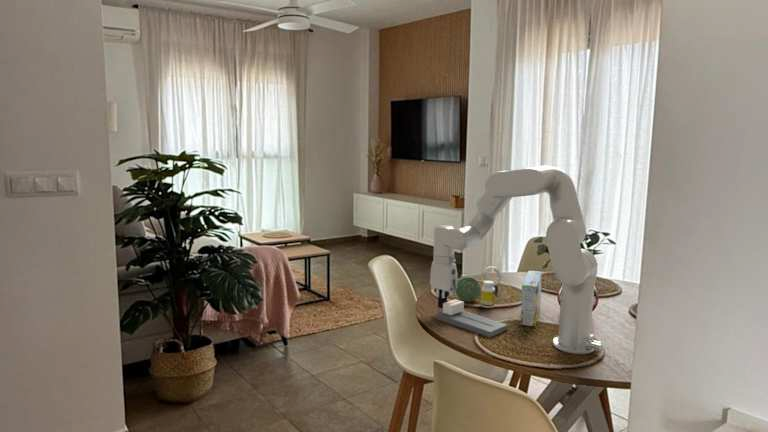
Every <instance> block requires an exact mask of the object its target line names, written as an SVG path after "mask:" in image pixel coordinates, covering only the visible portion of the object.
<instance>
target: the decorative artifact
mask: <svg viewBox="0 0 768 432" xmlns="http://www.w3.org/2000/svg"><path fill="white" fill-rule="evenodd" d="M481 288H482V287H481V284H480V282H479V280H478V279H476V278H475V277H474V276H471V275H463V276H461V277H460V278H458V286H457V289H455V295H456V296H457V298H459V299H460V301H463V302H472V301H475V300H476V299H477V298H479V296H480V295H481Z"/></svg>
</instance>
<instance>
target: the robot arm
mask: <svg viewBox="0 0 768 432" xmlns="http://www.w3.org/2000/svg"><path fill="white" fill-rule="evenodd" d="M484 187H485V191H484V192H483V193H482V194H481V195H480V196H479V198H478V199H477V201H476V208H477V212H476V214H475V215H474V217H472V219H471V221H469V222H468V224H467V225H465V226H462V227H459V228H455V227H454V226H451V225H447V224H445V225H444V224H441V225H436V226H435V227H434V229H433V260H432V262H431V265H430V266H431V267H430V276H429V277H430V278H429V283H430V284H429V285H430V286H431V287H430V288H431V289H432V290H433V291H434V292H435V293H436V297H437V298H438V299H437V308H438V309H439V308H440V309H443V303H445V302H448V297H449V296H453V295H456V292H455V289H457V286H458V279H459V278H458V270H457V264H456V261H457V259H456V258H455V250H456V251H457V250H458V251H462V250H463V251H464V250H466V249H469V248H470V247H473V246H476V245H477V244H479V243H480V242H481V241H482V240H483V239H484V237H485V236H486V235H487V234H488V233H489V232H490V230H491V229H492V227H493V226H494V224H495V221H496V219H497V217H498V215H500V213H501V212H502V211H503V210H504V208H505V207H506V206H507V205H508V204H509V203H510V201H511V200H512V199H513V198H516V197H517V198H518V197H527V196H535V195H540V194H544V193H546V194H548V197H549V207H550V209H551V214H552V215H551V216H552V219H553V221H552V222H550V223H549V224H548V227H547V229H546V233H545V240H546V246H547V249H548V254H549V258H550V263H551V266H552V270H553V273H554V275H555V277H556V279H557V280H558V281H559V282H560V283H561V292H560V306H559V307H560V308H559V322H558V334H557V335H558V336H556V337H554V338H553V340H552V345H553V346H554V347H555V348H556V349H557V350H560V351H562V352H565V353H568V354H574V355H575V354H576V355H586V354H587V355H588V354H590V353H593V352H594V351H595V350H596V351H600V352H601V351H602V350H603V349H602V348H603V345H602V344H603V343H602V342H601V341H598V340H595V339H594V336H595V335H594V334H591V332H592V319H593V309H594V308H593V305H594V295H595V285H596V279H597V275H598V261H597V258H596V256H595V255H594V253H593V252H591V251H590V250H588V249H585V248H582V246H581V243H582V242H584V240H585V239H586V237H587V227H586V224H585V221H584V216H583V212H582V209H581V205H580V202H579V199H578V194H577V190H576V186H575V184H574V181H573V179H572V178H571V176H570V175H569V173H567V172H566V171H564V170H563V169H562V168H558V167H555V166H552V165H539V166H538V165H537V166H532V167H526V168H525V167H524V168H520V169H511V170H500V171H495V172H492V173H491V174H490V175H488V177H487V178H486V179H485V185H484Z"/></svg>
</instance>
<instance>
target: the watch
mask: <svg viewBox="0 0 768 432" xmlns="http://www.w3.org/2000/svg"><path fill="white" fill-rule="evenodd" d="M490 269H493V270H494V272H495V274H496V276H497V278H498V280H497V281H496V282H494V286H493V287H494V288H495V293H498V290H499V287H498V286H499V285H498V284H500V283H501V281H502V278H503V276H502V274H501V272H500V270H499V269H498V266H494V265H490V266H487V267H485V268H484V270H483V273H482V278H483V280H484V281H488V279H487V278H486V271H487V270H490ZM498 294H499V293H498Z"/></svg>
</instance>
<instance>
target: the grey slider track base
mask: <svg viewBox="0 0 768 432" xmlns="http://www.w3.org/2000/svg"><path fill="white" fill-rule="evenodd" d="M435 319H436V320H437V321H438V320H439V321H441V322H445V323H447V324H450V325H453V326H456V327H459V328H462V329H464V330H467V331H470V332H473V333H475V334H478V333H479V335H481V334H482V335H481V336H484V335H485V336H484V337H487V336H488V337H487V338H490V337H491V338H493V337H495V336H497V334H498V335H500V334H502V333H504V332H503V331H505V330H507V329H508V327H509V326H508V324H507V323H504V322H501V321H497V320H494V319H491V318H487V317H485V316H482V315H478V314H475V313H472V312H469V311H466V310H464V311H462V312H459V313H457V314H454V315H449V314H446V313H443V310H441V311H438V312H436V313H435ZM507 331H508V330H507ZM501 332H502V333H501ZM505 332H506V331H505ZM499 333H500V334H499ZM494 335H495V336H494ZM492 336H493V337H492Z"/></svg>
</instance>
